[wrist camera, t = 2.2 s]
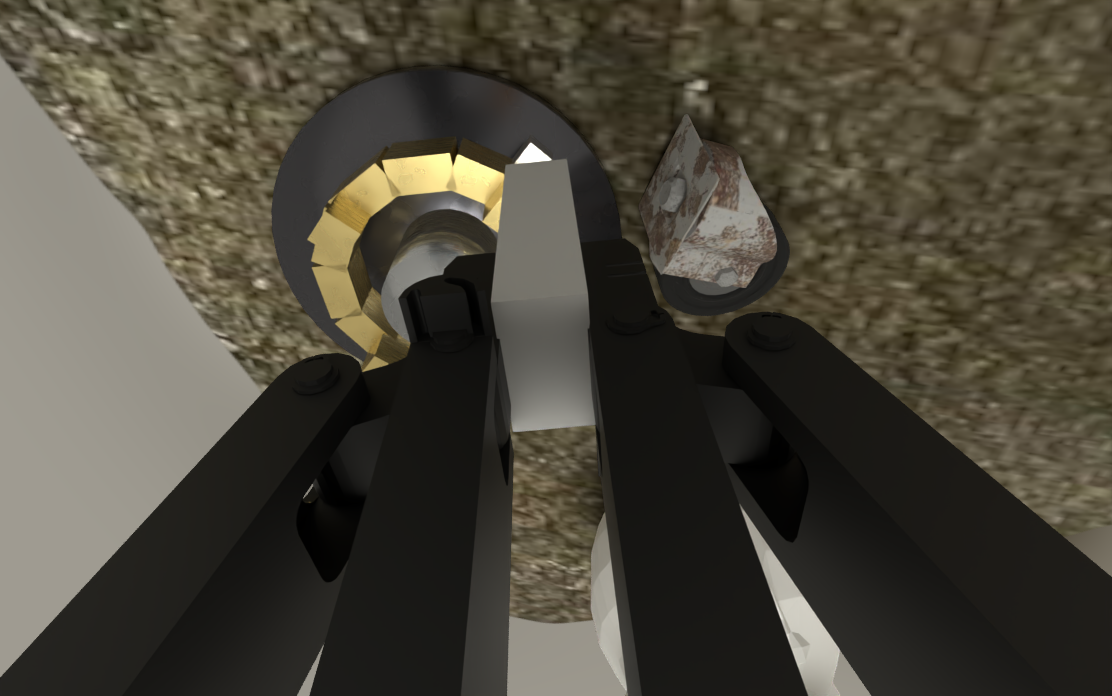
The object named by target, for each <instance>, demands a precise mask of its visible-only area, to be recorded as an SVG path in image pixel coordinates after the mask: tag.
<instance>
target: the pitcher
mask: <svg viewBox="0 0 1112 696" xmlns="http://www.w3.org/2000/svg"><path fill="white" fill-rule="evenodd" d="M739 505H740V504H739ZM740 507H741V505H740ZM741 510H742V513H743V516H744V518H745V521H746V524H747V527H748V530H749V532H750V535H751V538H752V541H753V543H754V546H755V549H756V552H757V555H758V557H759V560H760V563H761V566H762V568H763V571H764V574H765V577H766V580H767V582H768V585H769V588H770V591H771V593H772V596H773V599H774V602H775V604H776V607H777V610H778V613H779V616H780V618H781V621H782V624H783V627H784V629H785V632H786V635H787V638H788V641H789V643H790V646H791V649H792V652H793V654H794V657H795V660H796V663H797V666H798V668H799V671H800V674H801V677H802V679H803V682H804V685H805V688H806V691H807V693H808V696H840V694H839V692H838V690H837V688H836V687H835V685H834V683H833V678H834V675H835V671H836V667H837V663H838V658H839V652H840V649H839V648H838V646H837V645H836V643H835V642H834V641H833V639H832V638H831V636H830V635H829V633H828V632H827V630H826V629H825V627H824V626H823V625H822V623H821V622H820V620H819V619H818V617H817V616H816V614H815V613H814V611H813V610H812V609H811V607H810V606H809V604H808V603H807V601H806V600H805V598H804V597H803V595H802V594H801V593H800V591H799V590H798V588H797V587H796V585H795V584H794V582H793V581H792V579H791V578H790V577H789V575H788V574H787V572H786V571H785V569H784V568H783V566H782V565H781V563H780V562H779V561H778V559H777V558H776V556H775V555H774V553H773V552H772V550H771V549H770V547H769V546H768V545H767V543H766V542H765V540H764V539H763V537H762V536H761V534H760V533H759V531H758V530H757V529H756V527H755V526H754V524H753V523H752V521H751V520H750V518H749V517H748V515H747V514H746V513H745V511H744V510H743V508H742V507H741ZM591 611H592V616H593V620H594V624H595V629H596V633H597V637H598V641H599V645H600V647H601V649H602V651H603V653H604V655H605V656H606V658H607V660H608V662H609V664H610V665H611V667H612V669H613V671H614V673H615V674H616V676H617V678H618V680H619V681H620V682H621V684H622V686H623V687H624V688H625V690H626V691H627V685H626V677H625V669H624V661H623V653H622V645H621V637H620V629H619V621H618V613H617V605H616V597H615V589H614V581H613V572H612V564H611V556H610V548H609V540H608V532H607V524H606V516H605V512H604V514H603V516H602V519H601V521H600V524H599V526H598V529H597V533H596V537H595V541H594V545H593V549H592V553H591ZM625 696H628V693H626V695H625Z"/></svg>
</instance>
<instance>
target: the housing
mask: <svg viewBox="0 0 1112 696" xmlns="http://www.w3.org/2000/svg"><path fill="white" fill-rule="evenodd" d="M530 135H532V136H533V137H534V138H535V139H537V140H538V141H539V142H540V143H541V144H543V145H544V146H545V147H546V148H548V149H549V150H550V151H551V152H552V153H553V160H560V159H567V164H568V170H569V177H570V183H571V189H572V196H573V202H574V208H575V215H576V221H577V227H578V234H579V240H580V243H582V242H592V241H603V240H614V239H622V237H621V227H620V218H619V214H618V210H617V206H616V202H615V198H614V194H613V191H612V188H611V185H610V183H609V180H608V178H607V175H606V173H605V171H604V168H603V166H602V164H601V163H600V161H599V159H598V157H597V156H596V154H595V152H594V151H593V149H592V147H591V146H590V145H589V143H588V142H587V141H586V139H585V138H584V137H583V136H582V134H581V133H580V132H579V130H578V129H577V128H576V127H575V126H574V125H573V124H572V123H571V122H570V121H569V120H568V119H567V118H566V117H565V116H564V115H563V114H562V113H561V112H560V111H558V110H557V109H556V108H554V107H553V106H552V105H550V104H549V103H548V102H546V101H545V100H544V99H542V98H541V97H540V96H538V95H536V94H534V93H533V92H531V91H529V90H527V89H525V88H524V87H522V86H520V85H518V84H516V83H514V82H511V81H509V80H506V79H504V78H501V77H499V76H496V75H494V74H490V73H486V72H482V71H478V70H474V69H470V68H464V67H454V66H445V65H430V66H413V67H407V68H402V69H396V70H391V71H388V72H385V73H382V74H379V75H376V76H373V77H370V78H367V79H365V80H363V81H361V82H359V83H358V84H356V85H354V86H352V87H350V88H348V89H346V90H344V91H343V92H342V93H341V94H339V95H338V96H337V97H335V98H334V99H333V100H331V101H330V102H329V103H327V104H326V105H325V106H324V107H323V108H321V109H320V110H319V111H318V112H317V113H316V114H315V115H314V116H313V117H312V118H311V120H310V121H309V122H308V123H307V124H306V125H305V126H304V127H303V128H302V129H301V131H300V132H299V134H298V135H297V137H296V138H295V139H294V141H293V142H292V144H291V145H290V147H289V149H288V151H287V153H286V155H285V157H284V160H283V162H282V164H281V166H280V169H279V172H278V176H277V180H276V183H275V187H274V193H273V202H272V232H273V237H274V243H275V248H276V253H277V256H278V259H279V262H280V265H281V268H282V271H283V274H284V276H285V278H286V280H287V282H288V284H289V286H290V288H291V290H292V292H293V293H294V295H295V296H296V298H297V300H298V301H299V303H300V304H301V306H302V307H303V309H304V310H305V311H306V312H307V314H308V315H309V316H310V317H311V318H312V320H313V321H314V322H315V323H316V324H317V326H318V327H319V328H321V329H322V330H323V331H324V332H325V333H326V334H327V335H328V336H329V337H330V338H331V339H332V340H333V341H335V342H336V343H337V344H338V345H340V346H341V347H342V348H344V349H345V350H346V351H348V352H349V353H350V354H352V355H354V356H355V357H357V358H359V359H360V360H362V361H363V362H364V361H365V358H366V355H367V353H368V352H366V351H365V350H364V349H363V348H362V347H361V346H360V345H358V344H357V343H356V342H355V341H354V340H353V339H352V338H350V337H349V336H348V335H347V334H346V333H345V332H344V331H342V330H341V329H340V328H339V327H338V326H337V325H336V324H335V322H336V320H337V318H334V319H331V317H330V314H329V312H328V309H327V306H326V304H325V301H324V298H323V296H322V293H321V291H320V288H319V285H318V283H317V280H316V277H315V275H314V272H313V269H312V266H313V264H314V263H315V262H312V261H311V260H312V256H313V252H314V247H315V244H313V243H312V242H310V241H309V240H307V239H308V238H309V236H310V234H311V233H312V231H313V230H314V228H315V227H316V225H317V223H318V222H319V220H320V219H321V217H322V215H323V210H324V207H325V206H326V204H327V203H328V201H329V199H330V198H331V197H332V195H333V194H334V192H335V191H336V190H337V188H338V187H339V186H340V184H341V183H342V182H343V181H344V180H345V179H346V178H348V177H349V176H350V175H351V174H352V173H354V172H355V171H356V170H357V169H359V168H360V167H361V166H362V165H363V164H365V163H366V162H367V161H368V160H369V159H371V158H372V157H373V156H374V155H376V154H377V153H378V152H379V151H380V150H382V149H383V148H384V147H385V146H387V147H388V148H390V147H391V145H392V143H397V142H406V141H416V140H425V139H434V138H444V137H453V136H456V140H457V145H458V150H459V147H460V144H461V142H462V139H463V138H466V139H468V140H470V141H473V142H475V143H477V144H479V145H482V146H484V147H486V148H489V149H491V150H493V151H495V152H498V153H500V154H502V155H505V156H507V157H509V158H511V159H512V158H513V157H514V156H515V154H516V153H517V152H518V150H519V149H520V148H521V147H522V145H523V144H524V143H525V141H526V140H527V139H528V138H529V136H530ZM484 207H485V204H483V203H481V202H478V201H476V200H473V199H471V198H468V197H466V196H464V195H461V194H459V193H456V192H454V191H442V192H432V193H423V194H413V195H403V196H397V197H396V198H395V199H393V200H392V201H391V202H389V203H388V204H387V205H386V206H384V207H383V208H382V209H380V210H379V211H378V212H377V213H375V214H374V215H373V216H371V217H370V218H369V220H368V222H367V223H366V225H365V228H364V231H363V235H362V238H361V241H360V245H359V247H360V250H361V253H362V256H363V260H364V263H365V266H366V269H367V272H368V275H369V278H370V281H371V285H372V287H373V288H374V289H375V290H376V291H377V292H378V293H379V294H380V295H381V303H382V308H383V312H384V314H385V317H386V319H387V320H388V322H389V324H390V325H391V326H392V328H393V329H394V330H395V331H396V332H397V333H398V334H399V335H400V336H402V337H403V338H404V339H406V340H407V341H409V342H410V340H409V336H408V333H407V329H406V325H405V322H404V318H403V315H402V311H401V307H400V304H399V300H398V298H399V297H400V295H401V294H402V292H403V291H404V290H405V289H406V288H408V287H409V286H411V285H412V284H414V283H415V282H418V281H421V280H423V279H426V278H428V277H432V276H437V275H443V272H444V268H445V267H446V266H447V265H448V264H450V263H451V262H452V261H453V260H454V259H455V258H456V257H457V256H462V255H473V254H484V253H494V252H496V249H497V240H498V233H497V232H496V231H495V230H493V229H492V228H490V227H489V226H488V225H486V224H485V223H483V222H482V220H483V213H484Z"/></svg>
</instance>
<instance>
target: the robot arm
mask: <svg viewBox="0 0 1112 696" xmlns="http://www.w3.org/2000/svg"><path fill="white" fill-rule="evenodd" d="M398 300H399V304H400V307H401V311H402V315H403V318H404V322H405V325H406V329H407V333H408V336H409V340H410V346H409V350H408V353H407V357H405V358H403V359H401V360H399V361H396V362H394V363H391V364H388V365H385V366H382V367H378V368H375V369H371V370H368V371H364V372H362V369H361V366H360V364H359V362H358V361H357V360H356V359H354V358H353V357H352V356H350V355H345V354H340V353H332V354H320V355H315V356H314V357H313V356H312V357H309V358H306V359H303V360H302V361H300V362H298V363H296V364H294V365H292V366H290V367H289V368H288V369H286V370H285V371H284V372H283V373H281V374H280V375H279V376H278V377H277V378H276V379H275V380H274V381H273V382H272V383H271V384H270V385H269V387H268V388H267V389H266V390H265V391H264V392H263V393H262V394H261V395H260V396H259V397H258V399H257V400H256V401H255V402H254V403H253V404H252V405H251V406H250V407H249V408H248V409H247V410H246V412H245V413H244V414H243V415H242V416H241V417H240V418H239V419H238V420H237V421H236V422H235V423H234V425H233V426H232V427H231V428H230V429H229V430H228V431H227V432H226V433H225V434H224V435H223V436H222V438H221V439H220V440H219V441H218V442H217V443H216V444H215V445H214V446H213V447H212V448H211V449H210V451H209V452H208V453H207V454H206V455H205V456H204V457H203V458H202V459H201V460H200V461H199V462H198V464H197V465H196V466H195V467H194V468H193V469H192V470H191V471H190V472H189V473H188V474H187V476H186V477H185V478H184V479H183V480H182V481H181V482H180V483H179V484H178V485H177V486H176V488H175V489H174V490H173V491H172V492H171V493H170V494H169V495H168V496H167V497H166V498H165V499H164V501H163V502H162V503H161V504H160V505H159V506H158V507H157V508H156V509H155V510H154V511H153V512H152V514H151V515H150V516H149V517H148V518H147V519H146V520H145V521H144V522H143V523H142V524H141V525H140V527H139V528H138V529H137V530H136V531H135V532H134V533H133V534H132V535H131V536H130V537H129V539H128V540H127V541H126V542H125V543H124V544H123V545H122V546H121V547H120V548H119V549H118V550H117V552H116V553H115V554H114V555H113V556H112V557H111V558H110V559H109V560H108V561H107V562H106V563H105V565H104V566H103V567H102V568H101V569H100V570H99V571H98V572H97V573H96V574H95V575H94V576H93V577H92V579H91V580H90V581H89V582H88V583H87V584H86V585H85V586H84V587H83V588H82V589H81V591H80V592H79V593H78V594H77V595H76V596H75V597H74V598H73V599H72V600H71V601H70V602H69V604H68V605H67V606H66V607H65V608H64V609H63V610H62V611H61V612H60V613H59V615H57V617H56V618H55V619H54V620H53V621H52V622H51V623H50V624H49V625H48V626H47V627H46V628H45V630H44V631H43V632H42V633H41V634H40V635H39V636H38V637H37V638H36V639H35V640H34V641H33V643H32V644H31V645H30V646H29V647H28V648H27V649H26V650H25V651H24V652H23V653H22V655H21V656H20V657H19V658H18V659H17V660H16V661H15V662H14V663H13V664H12V665H11V666H10V668H9V669H8V670H7V671H6V672H5V673H4V674H3V675H2V676H1V677H0V696H297V694H298V692H299V690H300V688H301V686H302V685H303V682H304V681H305V679H306V677H307V675H308V673H309V671H310V669H311V667H312V665H313V663H314V662H315V660H316V658H317V656H318V654H319V652H320V650H321V648H322V646H323V644H324V647H323V650H322V654H321V657H320V661H319V664H318V668H317V671H316V675H315V678H314V682H313V685H312V689H311V692H310V696H507V670H508V636H509V601H510V566H511V531H512V495H513V460H514V452H513V447H512V441H511V435H510V419H511V422H512V428H513V432H519V431H531V430H542V429H554V428H565V427H577V426H588V425H595V426H596V441H597V457H598V473H599V476H601V484H602V492H603V500H604V508H605V516H606V524H607V532H608V540H609V548H610V556H611V564H612V572H613V581H614V589H615V597H616V605H617V613H618V621H619V629H620V637H621V645H622V653H623V661H624V669H625V677H626V685H627V693H628V696H808V693H807V691H806V688H805V685H804V682H803V679H802V677H801V674H800V671H799V668H798V666H797V663H796V660H795V657H794V654H793V652H792V649H791V646H790V643H789V641H788V638H787V635H786V632H785V629H784V627H783V624H782V621H781V618H780V616H779V613H778V610H777V607H776V604H775V602H774V599H773V596H772V593H771V591H770V588H769V585H768V582H767V580H766V577H765V574H764V571H763V568H762V566H761V563H760V560H759V557H758V555H757V552H756V549H755V546H754V543H753V541H752V538H751V535H750V532H749V530H748V527H747V524H746V521H745V518H744V516H743V513H742V510H741V507H742V508H743V510H744V511H745V513H746V514H747V515H748V517H749V518H750V520H751V521H752V523H753V524H754V526H755V527H756V529H757V530H758V531H759V533H760V534H761V536H762V537H763V539H764V540H765V542H766V543H767V545H768V546H769V547H770V549H771V550H772V552H773V553H774V555H775V556H776V558H777V559H778V561H779V562H780V563H781V565H782V566H783V568H784V569H785V571H786V572H787V574H788V575H789V577H790V578H791V579H792V581H793V582H794V584H795V585H796V587H797V588H798V590H799V591H800V593H801V594H802V595H803V597H804V598H805V600H806V601H807V603H808V604H809V606H810V607H811V609H812V610H813V611H814V613H815V614H816V616H817V617H818V619H819V620H820V622H821V623H822V625H823V626H824V627H825V629H826V630H827V632H828V633H829V635H830V636H831V638H832V639H833V641H834V642H835V643H836V645H837V646H838V648H839V649H840V650H841V652H842V654H843V655H844V657H845V658H846V659H847V661H848V662H849V664H850V665H851V667H852V668H853V670H854V671H855V672H856V674H857V675H858V677H859V678H860V680H861V681H862V683H863V684H864V686H865V687H866V689H867V690H868V691H869V693H870V694H871V696H1112V577H1111V576H1110V575H1109V574H1107V573H1106V572H1105V571H1104V570H1103V569H1101V568H1100V567H1099V566H1098V565H1097V564H1095V563H1094V562H1093V561H1092V560H1091V559H1089V558H1088V557H1087V556H1086V555H1085V554H1083V553H1082V552H1081V551H1080V550H1079V549H1077V548H1076V547H1075V546H1074V545H1073V544H1071V543H1070V542H1069V541H1068V540H1067V539H1065V538H1064V537H1063V536H1062V535H1061V534H1059V533H1058V532H1057V531H1056V530H1055V529H1053V528H1052V527H1051V526H1050V525H1049V524H1047V523H1046V522H1045V521H1044V520H1043V519H1041V518H1040V517H1039V516H1038V515H1037V514H1035V513H1034V512H1033V511H1032V510H1031V509H1029V508H1028V507H1027V506H1026V505H1025V504H1023V503H1022V502H1021V501H1020V500H1019V499H1017V498H1016V497H1015V496H1014V495H1013V494H1011V493H1010V492H1009V491H1008V490H1007V489H1005V488H1004V487H1003V486H1002V485H1001V484H999V483H998V482H997V481H996V480H995V479H993V478H992V477H991V476H990V475H989V474H987V473H986V472H985V471H984V470H983V469H981V468H980V467H979V466H978V465H977V464H975V463H974V462H973V461H972V460H971V459H969V458H968V457H967V456H966V455H965V454H963V453H962V452H961V451H960V450H959V449H957V448H956V447H955V446H954V445H953V444H951V443H950V442H949V441H948V440H947V439H945V438H944V437H943V436H942V435H941V434H939V433H938V432H937V431H936V430H935V429H933V428H932V427H931V426H930V425H929V424H927V423H926V422H925V421H924V420H923V419H921V418H920V417H919V416H918V415H917V414H915V413H914V412H913V411H912V410H911V409H909V408H908V407H907V406H906V405H905V404H903V403H902V402H901V401H900V400H899V399H897V398H896V397H895V396H894V395H893V394H891V393H890V392H889V391H888V390H887V389H886V388H884V387H883V386H882V385H881V384H880V383H878V382H877V381H876V380H875V379H874V378H872V377H871V376H870V375H869V374H868V373H866V372H865V371H864V370H863V369H862V368H860V367H859V366H858V365H857V364H856V363H854V362H853V361H852V360H851V359H850V358H848V357H847V356H846V355H845V354H844V353H842V352H841V351H840V350H839V349H838V348H836V347H835V346H834V345H833V344H832V343H830V342H829V341H828V340H827V339H826V338H824V337H823V336H822V335H821V334H820V333H818V332H817V331H816V330H815V329H814V328H812V327H811V326H810V325H808V324H806V323H805V322H803V321H801V320H799V319H798V318H795V317H791V316H788V315H785V314H781V313H775V312H773V313H771V312H758V313H749V314H745V315H743V316H740V317H738V318H735V319H734V320H733V321H732V322H731V323H730V324H728V325H727V326H726V332H725V337H724V336H714V335H704V334H698V333H692V332H689V331H686V330H682V329H679V328H678V327H676V326H675V324H674V321H673V319H672V317H671V316H670V315H669V313H668V312H667V311H666V310H664V309H663V308H661V307H659V306H658V304H657V302H656V299H655V296H654V293H653V290H652V287H651V284H650V281H649V278H648V275H647V274H646V269H645V266H644V263H643V260H642V257H641V254H640V251H639V249H638V248H637V247H636V246H634V245H633V244H632V243H630V242H629V241H628V240H626V239H614V240H603V241H592V242H582V243H580V240H579V234H578V227H577V221H576V215H575V208H574V202H573V196H572V189H571V183H570V177H569V170H568V164H567V159H560V160H549V161H539V162H529V163H518V164H508V165H505V175H504V184H503V193H502V202H501V212H500V221H499V230H498V240H497V249H496V252H494V253H484V254H473V255H462V256H457V257H456V258H455V259H454V260H453V261H452V262H451V263H450V264H448V265H447V266H446V267H445V268H444V272H443V275H437V276H432V277H428V278H426V279H423V280H421V281H418V282H415V283H414V284H412V285H411V286H409V287H408V288H406V289H405V290H404V291H403V292H402V294H401V295H400V297H399V298H398ZM312 484H313V487H312V489H311V490H310V492H309V493H308V495H307V496H306V497H305V498H303V497H304V495H305V494H306V492H307V491H308V489H309V488H310V486H311V485H312ZM739 504H740V505H741V507H740V505H739ZM324 642H325V643H324Z"/></svg>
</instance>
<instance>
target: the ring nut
mask: <svg viewBox="0 0 1112 696" xmlns="http://www.w3.org/2000/svg"><path fill="white" fill-rule="evenodd" d="M549 160H553V153H552V152H551V151H550V150H549V149H548V148H546V147H545V146H544V145H543V144H541V143H540V142H539V141H538V140H537V139H535V138H534V137H533V136H532V135H530V136H529V138H528V139H527V140H526V141H525V143H524V144H523V145H522V147H521V148H520V149H519V150H518V152H517V153H516V154H515V156H514V157H513V158H512V159H511V158H509V157H507V156H505V155H502V154H500V153H498V152H495V151H493V150H491V149H489V148H486V147H484V146H482V145H479V144H477V143H475V142H473V141H470V140H468V139H466V138H463V139H462V142H461V144H460V147H459V150H458V145H457V140H456V136H453V137H444V138H434V139H425V140H416V141H406V142H397V143H392V145H391V147H390V148H388V147H387V146H385V147H384V148H383V149H382V150H380V151H379V152H378V153H377V154H376V155H374V156H373V157H372V158H371V159H369V160H368V161H367V162H366V163H365V164H363V165H362V166H361V167H360V168H359V169H357V170H356V171H355V172H354V173H352V174H351V175H350V176H349V177H348V178H346V179H345V180H344V181H343V182H342V183H341V184H340V186H339V187H338V188H337V190H336V191H335V192H334V194H333V195H332V197H331V198H330V199H329V201H328V203H327V204H326V206H325V207H324V210H323V215H322V217H321V219H320V220H319V222H318V223H317V225H316V227H315V228H314V230H313V231H312V233H311V234H310V236H309V238H308V239H307V240H309V241H310V242H312V243H313V244H315V247H314V252H313V256H312V260H311V261H312V262H315V263H314V264H313V266H312V269H313V272H314V275H315V277H316V280H317V283H318V285H319V288H320V291H321V293H322V296H323V298H324V301H325V304H326V306H327V309H328V312H329V314H330V317H331V319H334V318H337V320H336V322H335V324H336V325H337V326H338V327H339V328H340V329H341V330H342V331H344V332H345V333H346V334H347V335H348V336H349V337H350V338H352V339H353V340H354V341H355V342H356V343H357V344H358V345H360V346H361V347H362V348H363V349H364V350H365V351H366V352H368V353H367V355H366V358H365V361H364V363H363V366H362V372H364V371H368V370H371V369H375V368H378V367H382V366H385V365H388V364H391V363H394V362H396V361H399V360H401V359H403V358H405V357H407V353H408V350H409V346H410V342H409V341H407V340H406V339H404V338H403V337H402V336H400V335H399V334H398V333H397V332H396V331H395V330H394V329H393V328H392V326H391V325H390V324H389V322H388V320H387V319H386V317H385V314H384V312H383V308H382V303H381V295H380V294H379V293H378V292H377V291H376V290H375V289H374V288H373V287H372V285H371V281H370V278H369V275H368V272H367V269H366V266H365V263H364V260H363V256H362V253H361V250H360V247H359V245H360V241H361V238H362V235H363V231H364V228H365V225H366V223H367V222H368V220H369V218H370V217H371V216H373V215H374V214H375V213H377V212H378V211H379V210H380V209H382V208H383V207H384V206H386V205H387V204H388V203H389V202H391V201H392V200H393V199H395V198H396V197H397V196H403V195H413V194H423V193H432V192H442V191H454V192H456V193H459V194H461V195H464V196H466V197H468V198H471V199H473V200H476V201H478V202H481V203H483V204H485V207H484V213H483V220H482V222H483V223H485V224H486V225H488V226H489V227H490V228H492V229H493V230H495V231H496V232H497V233H498V230H499V221H500V212H501V202H502V193H503V184H504V175H505V165H508V164H518V163H529V162H539V161H549Z"/></svg>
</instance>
